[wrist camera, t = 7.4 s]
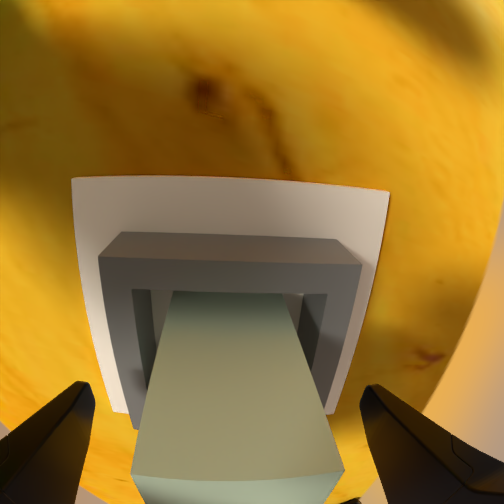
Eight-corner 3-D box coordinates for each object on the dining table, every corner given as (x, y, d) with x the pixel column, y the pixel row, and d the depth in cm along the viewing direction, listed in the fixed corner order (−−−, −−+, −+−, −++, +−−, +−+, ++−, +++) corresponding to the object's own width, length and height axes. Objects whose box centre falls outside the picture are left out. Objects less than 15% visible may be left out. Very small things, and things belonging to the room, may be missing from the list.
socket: (385, 190, 12) (425, 207, 9) (331, 408, 16) (346, 447, 13) (75, 177, 10) (36, 191, 8) (114, 406, 14) (103, 446, 12)
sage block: (279, 287, 12) (344, 470, 5) (269, 365, 14) (304, 530, 6) (175, 284, 12) (130, 474, 4) (180, 364, 13) (162, 532, 6)
